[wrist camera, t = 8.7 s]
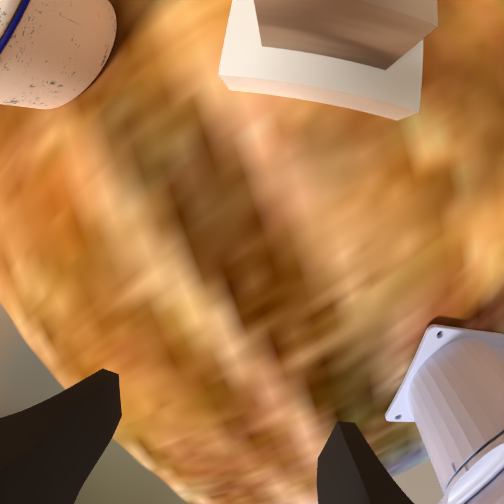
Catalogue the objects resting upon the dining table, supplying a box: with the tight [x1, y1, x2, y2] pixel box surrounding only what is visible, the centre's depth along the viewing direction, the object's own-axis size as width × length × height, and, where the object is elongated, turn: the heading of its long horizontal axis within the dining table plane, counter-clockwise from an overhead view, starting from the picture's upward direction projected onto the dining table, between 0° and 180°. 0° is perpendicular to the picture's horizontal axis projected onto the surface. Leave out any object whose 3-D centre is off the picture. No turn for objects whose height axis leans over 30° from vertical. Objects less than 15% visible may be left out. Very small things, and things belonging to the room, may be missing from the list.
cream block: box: [218, 0, 423, 121], centre depth 13 cm, size 9×9×4 cm
